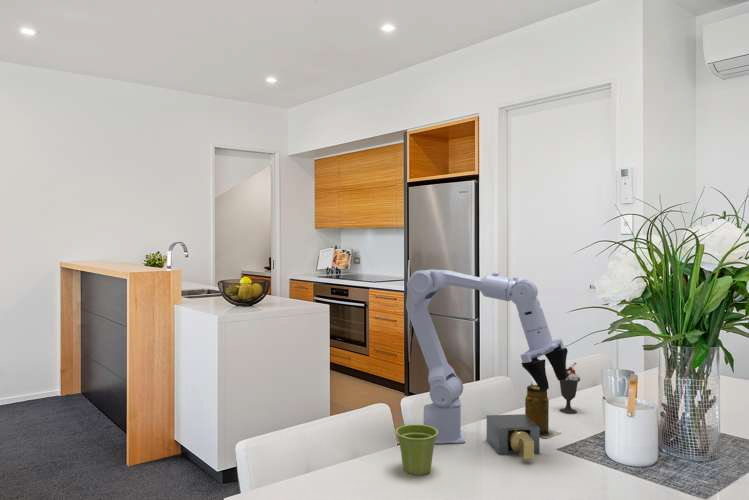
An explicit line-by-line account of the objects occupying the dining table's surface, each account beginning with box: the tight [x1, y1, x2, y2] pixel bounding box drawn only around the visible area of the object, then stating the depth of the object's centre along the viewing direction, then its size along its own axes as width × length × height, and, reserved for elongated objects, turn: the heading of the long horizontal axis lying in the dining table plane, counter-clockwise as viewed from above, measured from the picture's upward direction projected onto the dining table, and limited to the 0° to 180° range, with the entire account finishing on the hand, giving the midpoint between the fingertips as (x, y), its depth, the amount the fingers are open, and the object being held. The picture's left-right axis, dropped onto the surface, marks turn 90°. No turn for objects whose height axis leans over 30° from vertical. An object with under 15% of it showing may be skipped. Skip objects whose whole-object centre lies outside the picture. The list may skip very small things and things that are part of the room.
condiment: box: [524, 384, 561, 439], centre depth 146 cm, size 7×8×12 cm
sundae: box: [559, 362, 581, 415], centre depth 165 cm, size 7×7×15 cm
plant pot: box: [395, 424, 438, 476], centre depth 121 cm, size 9×9×9 cm
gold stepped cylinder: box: [508, 430, 535, 460], centre depth 131 cm, size 5×13×5 cm, turn 5°
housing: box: [486, 413, 541, 456], centre depth 135 cm, size 10×10×6 cm
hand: (553, 384), depth 129 cm, fingers open, 7 cm apart
